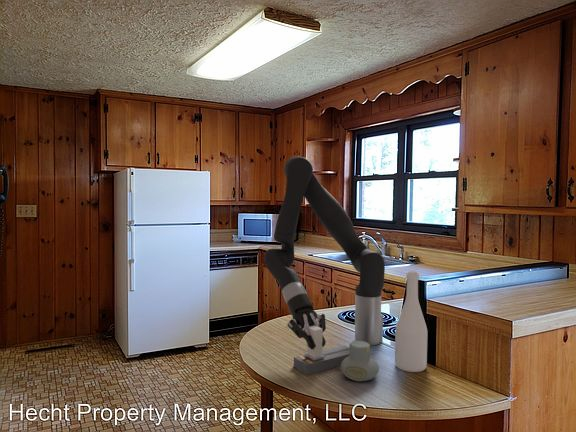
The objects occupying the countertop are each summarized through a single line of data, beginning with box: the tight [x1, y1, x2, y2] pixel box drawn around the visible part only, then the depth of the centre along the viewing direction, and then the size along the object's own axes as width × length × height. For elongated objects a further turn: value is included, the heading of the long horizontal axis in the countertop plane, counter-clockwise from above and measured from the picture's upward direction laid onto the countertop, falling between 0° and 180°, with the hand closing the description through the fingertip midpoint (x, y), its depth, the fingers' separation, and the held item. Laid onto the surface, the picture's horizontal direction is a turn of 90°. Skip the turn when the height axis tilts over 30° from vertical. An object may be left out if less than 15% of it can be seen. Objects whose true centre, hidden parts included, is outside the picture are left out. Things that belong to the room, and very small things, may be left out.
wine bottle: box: [394, 270, 428, 373], centre depth 134 cm, size 10×10×30 cm
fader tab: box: [304, 326, 325, 360], centre depth 135 cm, size 4×5×9 cm
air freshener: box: [340, 340, 380, 383], centre depth 127 cm, size 11×8×10 cm
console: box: [293, 344, 350, 376], centre depth 137 cm, size 20×7×3 cm, turn 122°
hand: (318, 346), depth 133 cm, fingers closed on fader tab, 3 cm apart
